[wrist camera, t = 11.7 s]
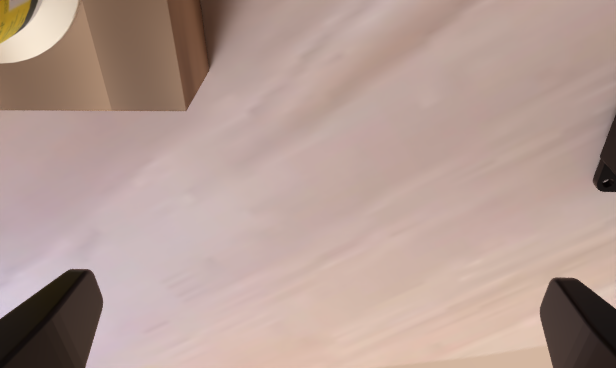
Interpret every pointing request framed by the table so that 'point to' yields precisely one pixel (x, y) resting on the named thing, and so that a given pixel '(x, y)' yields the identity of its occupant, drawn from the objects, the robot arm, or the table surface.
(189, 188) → the table surface
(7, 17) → the supplement bottle
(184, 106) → the pocket block
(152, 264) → the table surface
